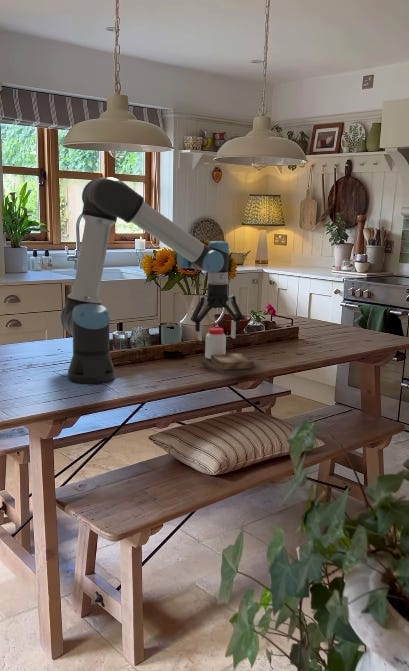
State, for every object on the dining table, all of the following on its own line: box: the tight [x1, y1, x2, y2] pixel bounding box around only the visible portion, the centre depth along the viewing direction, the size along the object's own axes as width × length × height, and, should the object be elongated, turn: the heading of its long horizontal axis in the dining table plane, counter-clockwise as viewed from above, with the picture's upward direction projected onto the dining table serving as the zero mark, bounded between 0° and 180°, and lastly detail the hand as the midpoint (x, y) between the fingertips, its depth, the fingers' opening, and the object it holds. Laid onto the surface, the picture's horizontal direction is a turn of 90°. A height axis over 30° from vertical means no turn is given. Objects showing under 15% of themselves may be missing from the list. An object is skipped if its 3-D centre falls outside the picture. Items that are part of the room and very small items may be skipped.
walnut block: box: [210, 352, 255, 371], centre depth 222 cm, size 12×12×3 cm
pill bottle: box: [204, 327, 227, 360], centre depth 232 cm, size 8×8×11 cm
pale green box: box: [160, 324, 182, 345], centre depth 238 cm, size 8×8×10 cm
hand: (216, 338), depth 231 cm, fingers open, 13 cm apart
